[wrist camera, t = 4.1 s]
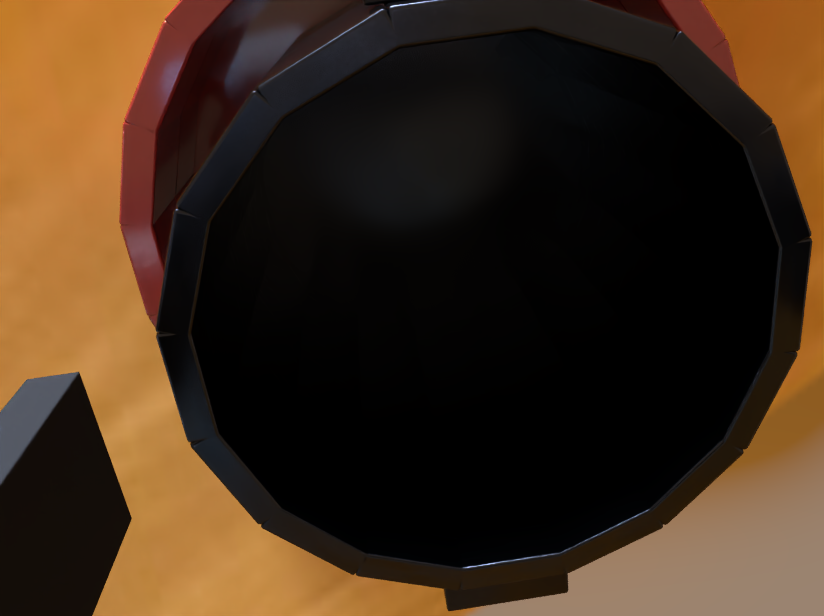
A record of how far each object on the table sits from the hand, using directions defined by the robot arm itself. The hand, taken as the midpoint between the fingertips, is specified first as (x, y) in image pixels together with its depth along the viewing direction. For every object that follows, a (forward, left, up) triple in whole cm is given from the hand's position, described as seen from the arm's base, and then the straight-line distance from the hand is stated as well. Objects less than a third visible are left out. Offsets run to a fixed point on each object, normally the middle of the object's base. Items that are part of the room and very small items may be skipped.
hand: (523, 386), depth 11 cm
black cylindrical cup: (0, 0, -14) cm, 14 cm away
